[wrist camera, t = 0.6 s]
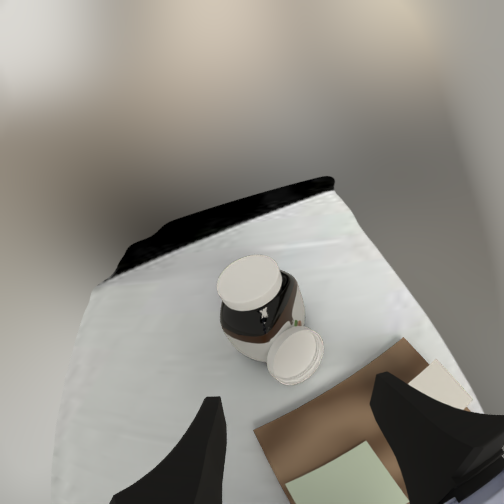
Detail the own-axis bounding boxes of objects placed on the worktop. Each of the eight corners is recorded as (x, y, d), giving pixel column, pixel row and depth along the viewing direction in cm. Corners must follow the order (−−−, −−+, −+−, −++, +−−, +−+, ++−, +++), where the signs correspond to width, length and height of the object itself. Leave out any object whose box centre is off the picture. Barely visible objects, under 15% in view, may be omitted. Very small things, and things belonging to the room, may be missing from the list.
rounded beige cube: (450, 418, 18) (473, 399, 14) (409, 454, 17) (425, 445, 13) (422, 384, 22) (436, 358, 18) (381, 416, 22) (388, 398, 18)
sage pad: (408, 501, 13) (409, 501, 13) (323, 547, 12) (322, 548, 12) (365, 440, 20) (366, 440, 20) (285, 483, 19) (284, 483, 19)
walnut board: (489, 441, 14) (493, 439, 13) (325, 556, 12) (324, 559, 11) (402, 341, 28) (403, 337, 27) (256, 431, 26) (253, 430, 25)
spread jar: (265, 302, 40) (238, 243, 34) (340, 314, 35) (329, 248, 28) (227, 372, 33) (183, 322, 26) (309, 397, 27) (287, 352, 20)
